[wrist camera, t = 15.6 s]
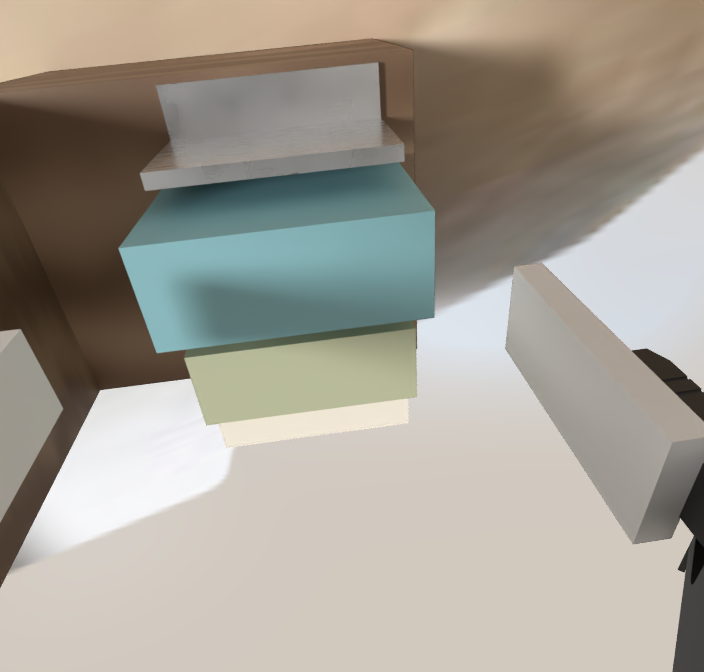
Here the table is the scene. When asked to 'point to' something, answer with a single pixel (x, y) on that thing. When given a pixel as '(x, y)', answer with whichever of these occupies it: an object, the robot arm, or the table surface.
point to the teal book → (283, 257)
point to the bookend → (272, 126)
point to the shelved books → (306, 383)
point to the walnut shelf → (111, 222)
